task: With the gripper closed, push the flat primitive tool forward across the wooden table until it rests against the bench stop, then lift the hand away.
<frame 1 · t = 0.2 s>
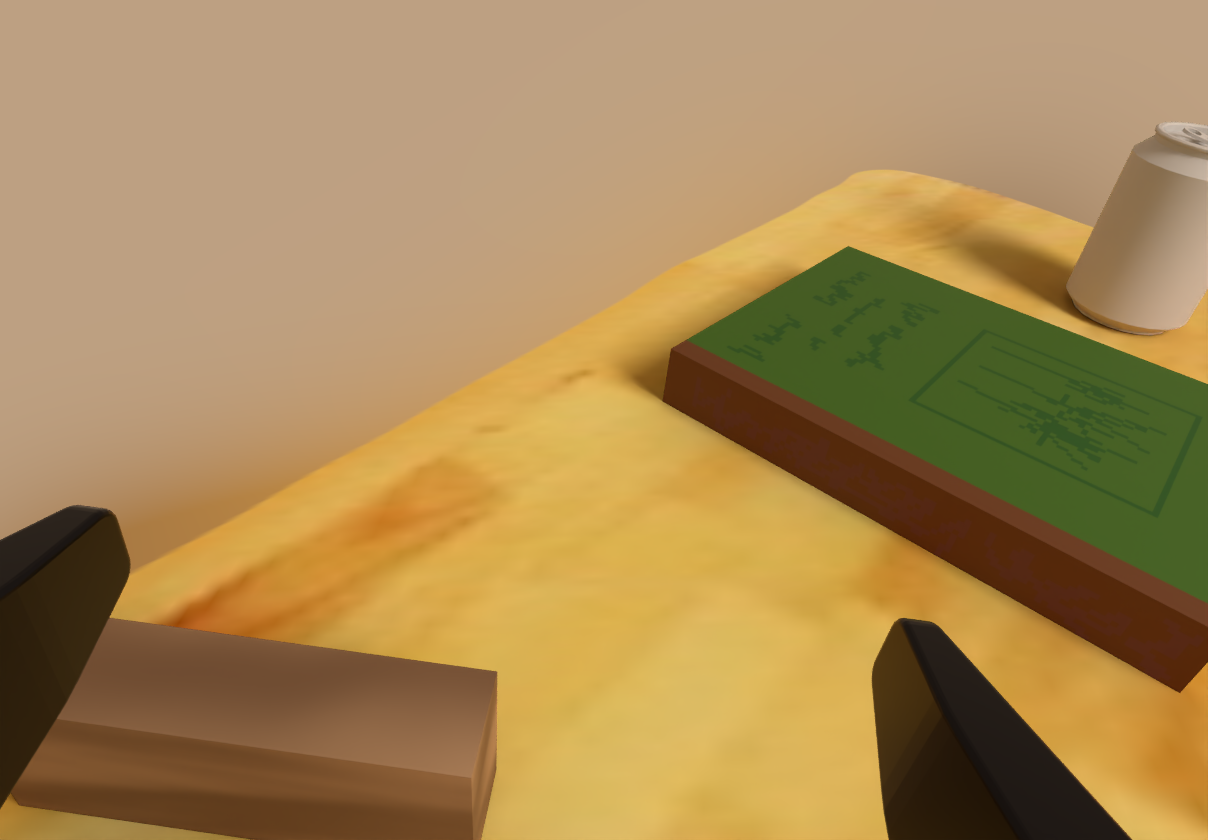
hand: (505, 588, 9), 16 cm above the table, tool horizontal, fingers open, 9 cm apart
can: (1117, 315, 54), on the table
hardcover book: (959, 447, 41), on the table
bench stop: (268, 786, 23), on the table
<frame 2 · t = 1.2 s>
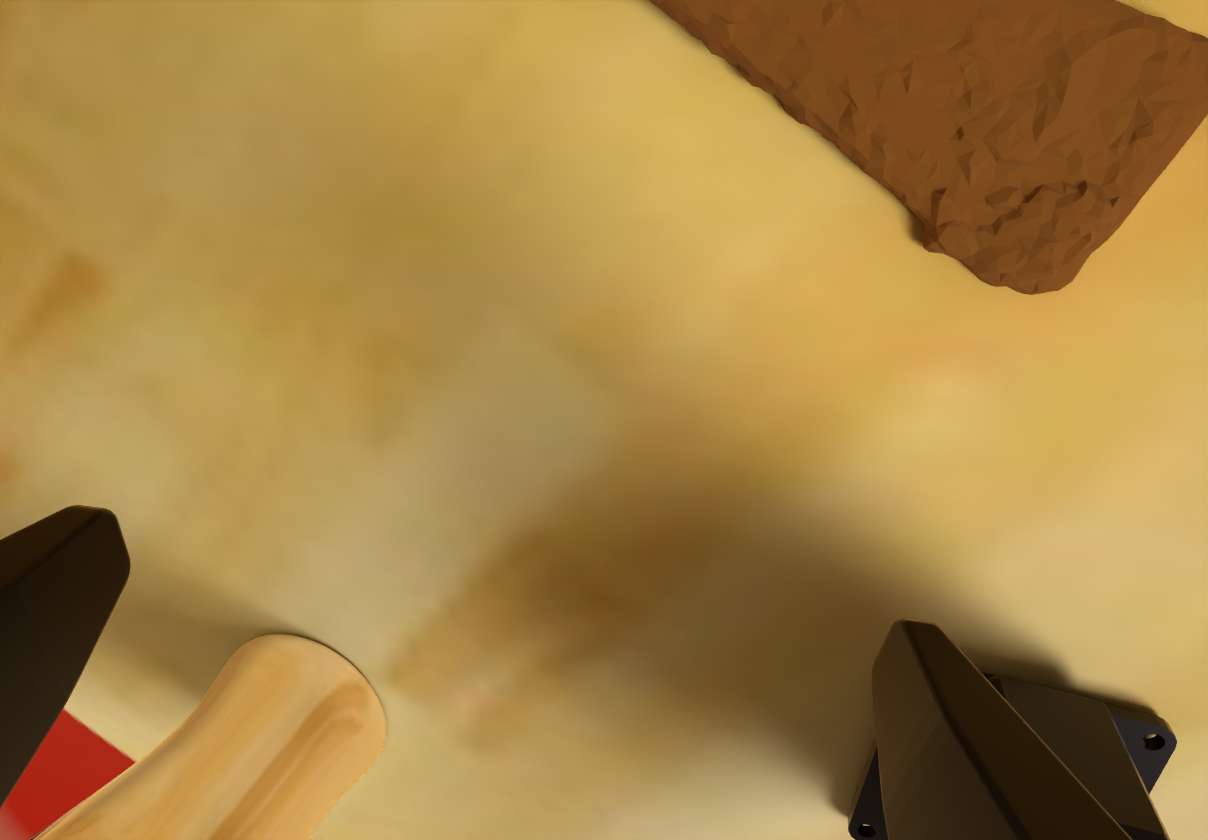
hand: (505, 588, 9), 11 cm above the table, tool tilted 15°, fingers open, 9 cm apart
beer glass: (310, 701, 27), on the table
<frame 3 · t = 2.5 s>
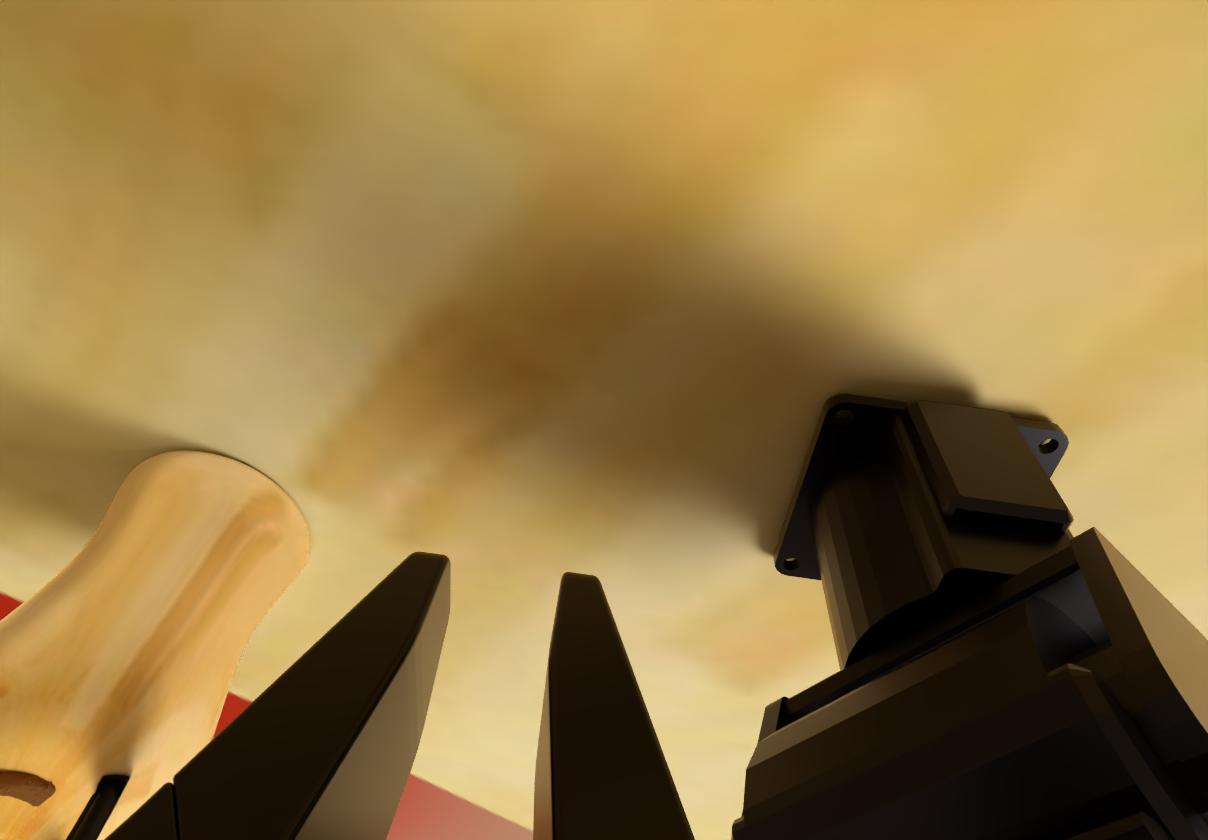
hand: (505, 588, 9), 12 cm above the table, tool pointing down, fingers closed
beer glass: (222, 518, 26), on the table
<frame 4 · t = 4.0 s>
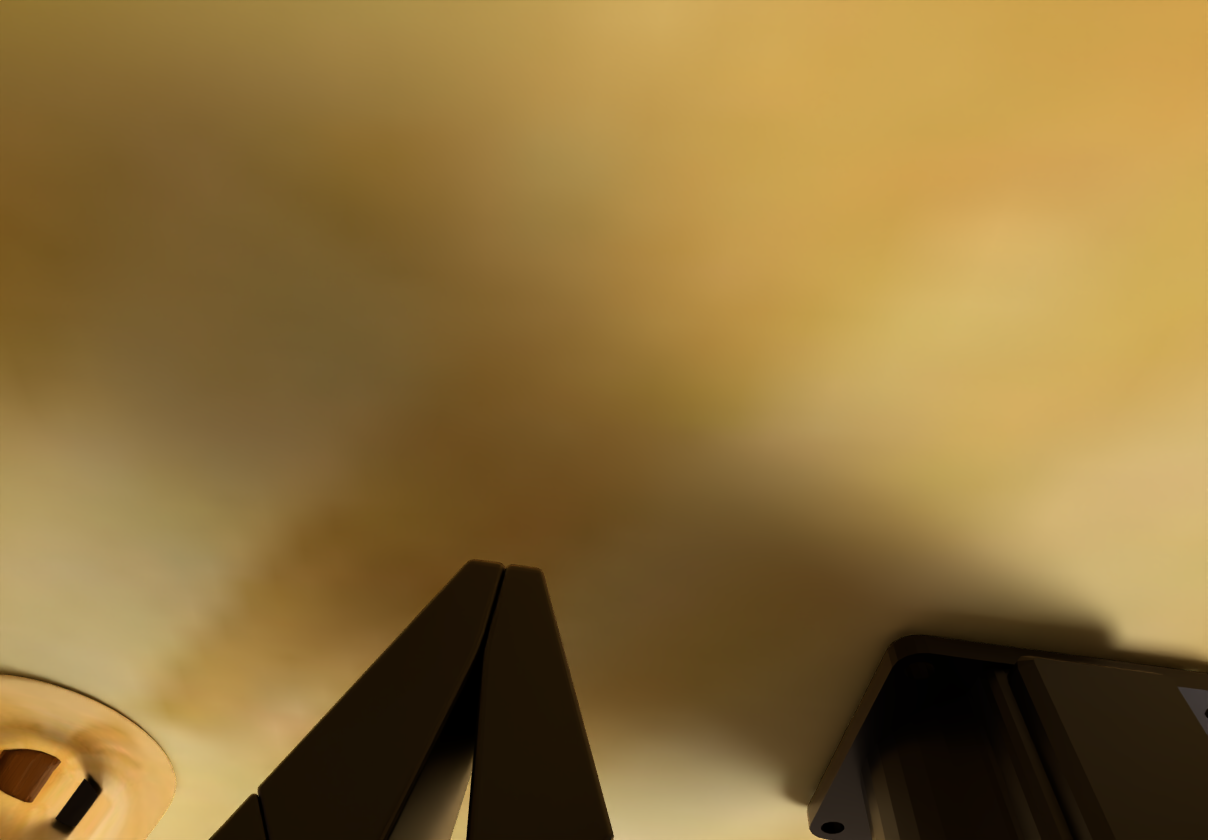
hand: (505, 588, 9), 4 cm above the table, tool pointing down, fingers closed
beer glass: (56, 743, 19), on the table
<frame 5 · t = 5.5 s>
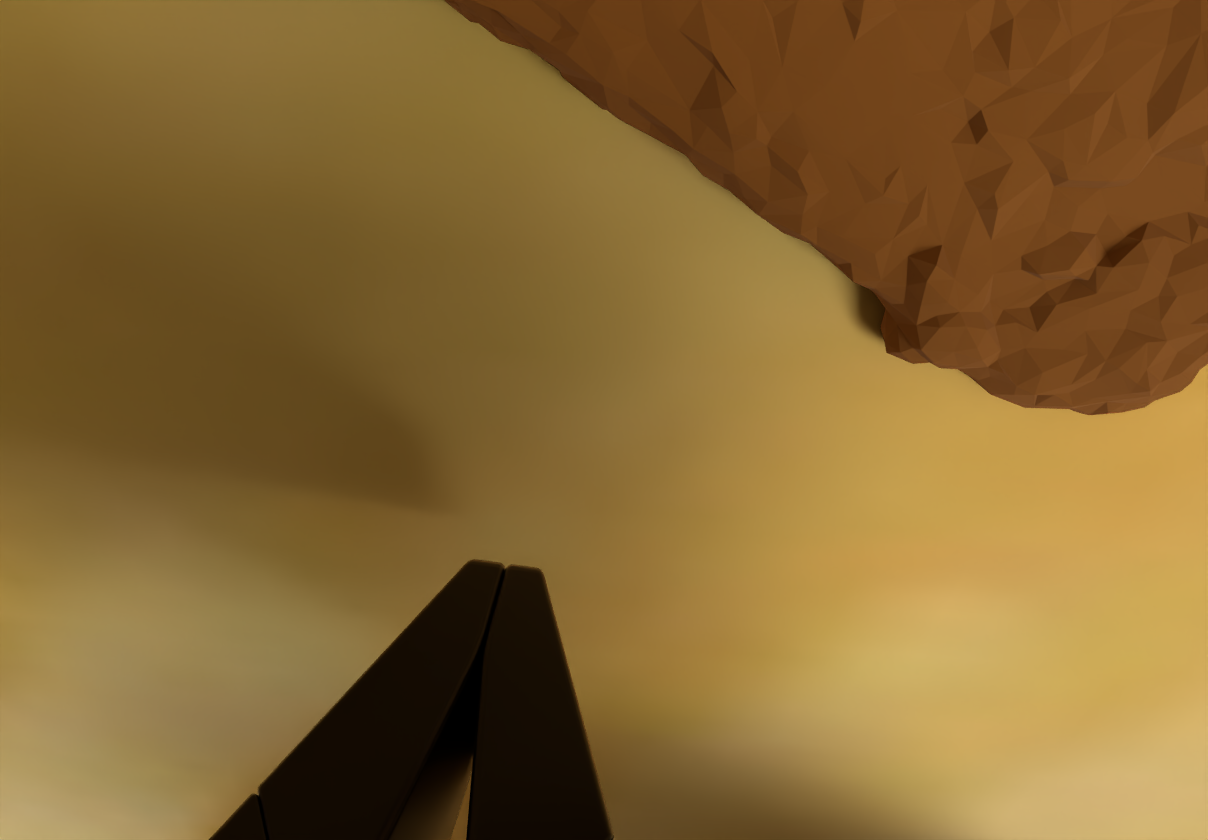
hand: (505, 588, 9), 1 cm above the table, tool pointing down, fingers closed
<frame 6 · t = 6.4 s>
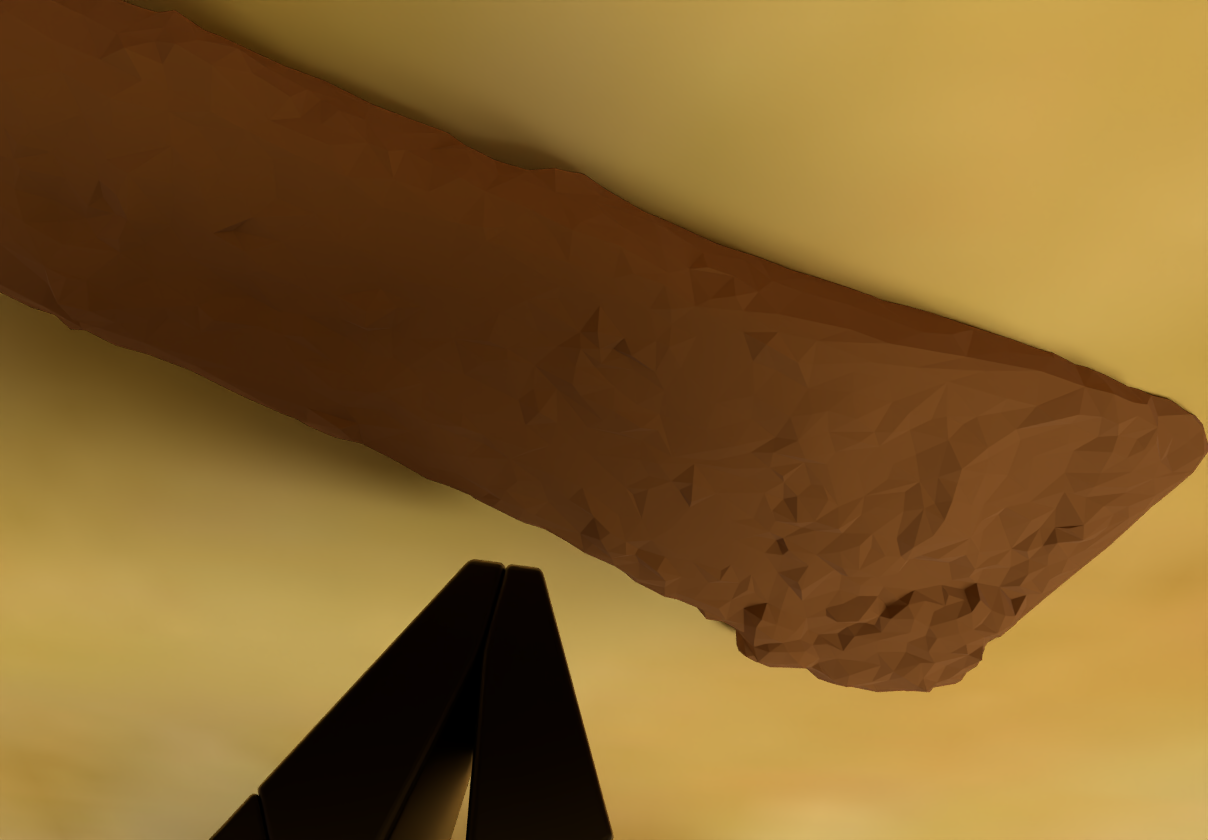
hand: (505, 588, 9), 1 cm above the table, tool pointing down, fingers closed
primitive tool: (395, 202, 9), on the table, touching gripper
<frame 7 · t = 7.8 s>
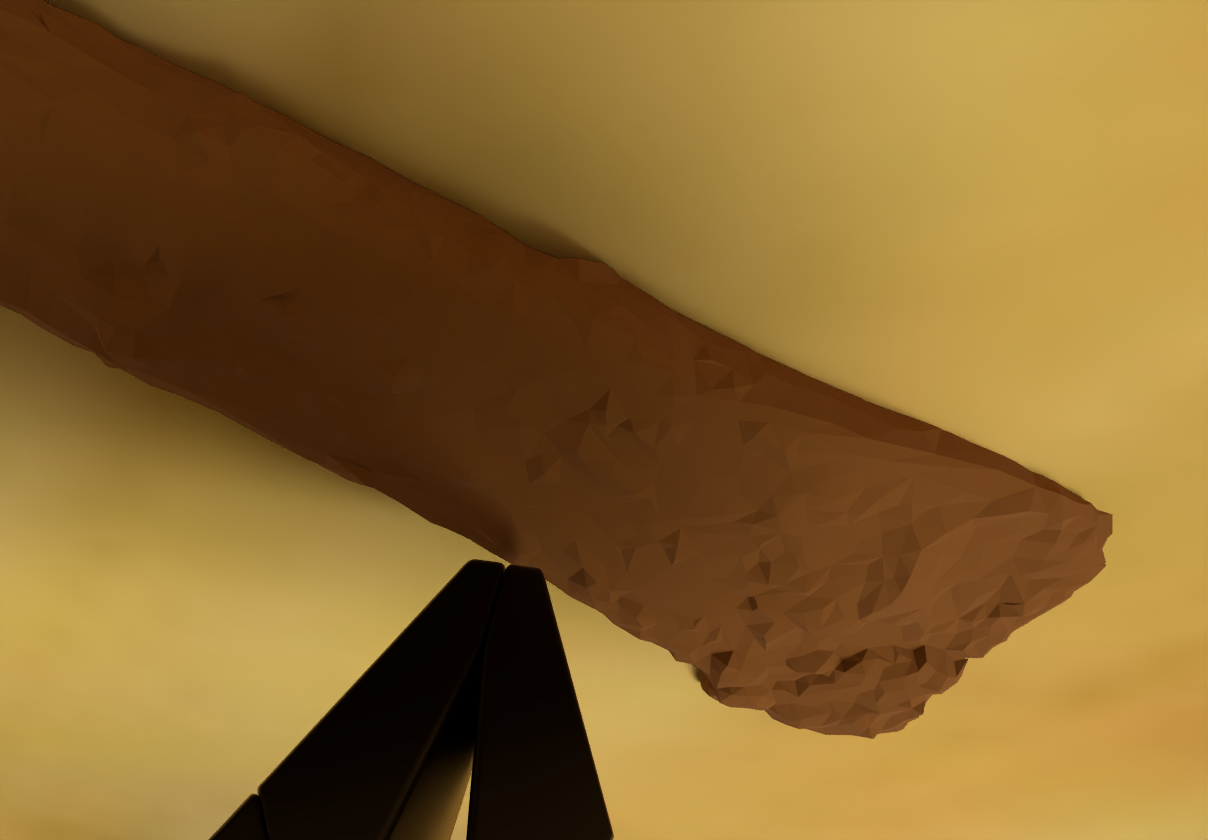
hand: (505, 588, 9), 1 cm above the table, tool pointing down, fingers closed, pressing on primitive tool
primitive tool: (419, 259, 9), on the table, touching gripper
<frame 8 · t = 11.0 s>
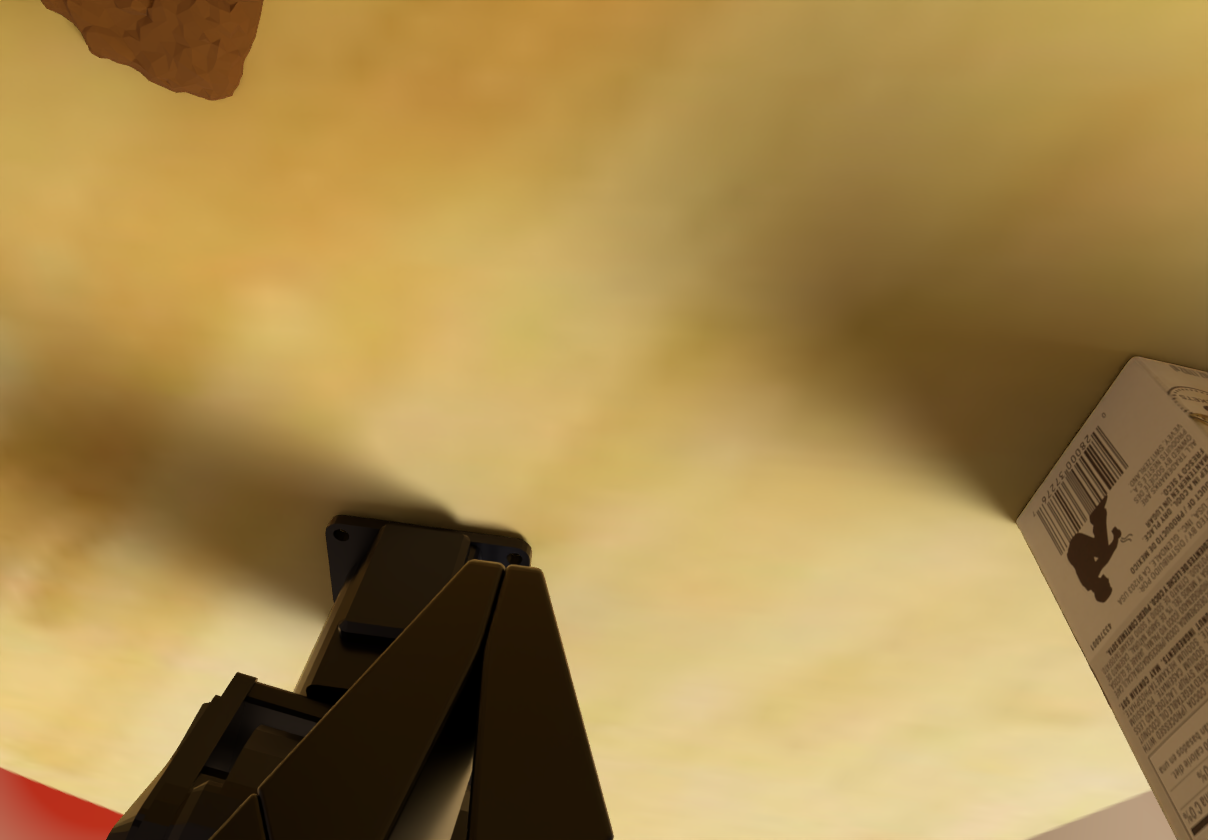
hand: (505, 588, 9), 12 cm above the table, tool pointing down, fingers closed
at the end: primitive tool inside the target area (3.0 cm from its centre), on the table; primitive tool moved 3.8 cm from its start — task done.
